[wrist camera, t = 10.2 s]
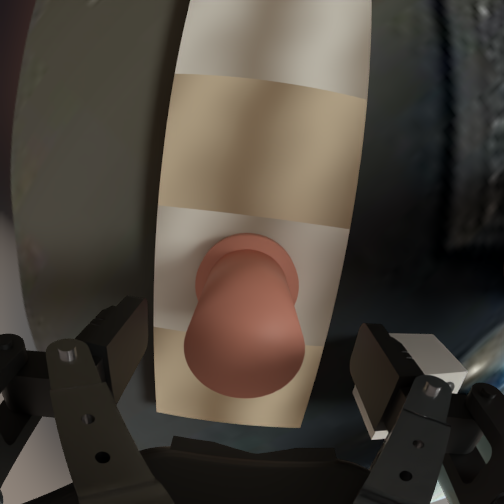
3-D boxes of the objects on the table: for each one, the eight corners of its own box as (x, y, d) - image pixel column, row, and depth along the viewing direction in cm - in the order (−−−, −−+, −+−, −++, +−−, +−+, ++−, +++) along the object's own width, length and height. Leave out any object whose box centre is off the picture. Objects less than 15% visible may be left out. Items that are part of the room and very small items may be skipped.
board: (365, 5, 14) (371, -4, 13) (298, 416, 21) (299, 427, 20) (200, -18, 14) (197, -28, 12) (160, 401, 20) (156, 411, 19)
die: (432, 333, 19) (468, 372, 14) (409, 389, 21) (436, 432, 16) (372, 331, 19) (402, 377, 14) (352, 391, 20) (371, 441, 15)
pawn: (303, 239, 16) (338, 288, 10) (287, 329, 18) (304, 414, 11) (202, 227, 16) (168, 268, 9) (195, 318, 17) (166, 399, 11)
